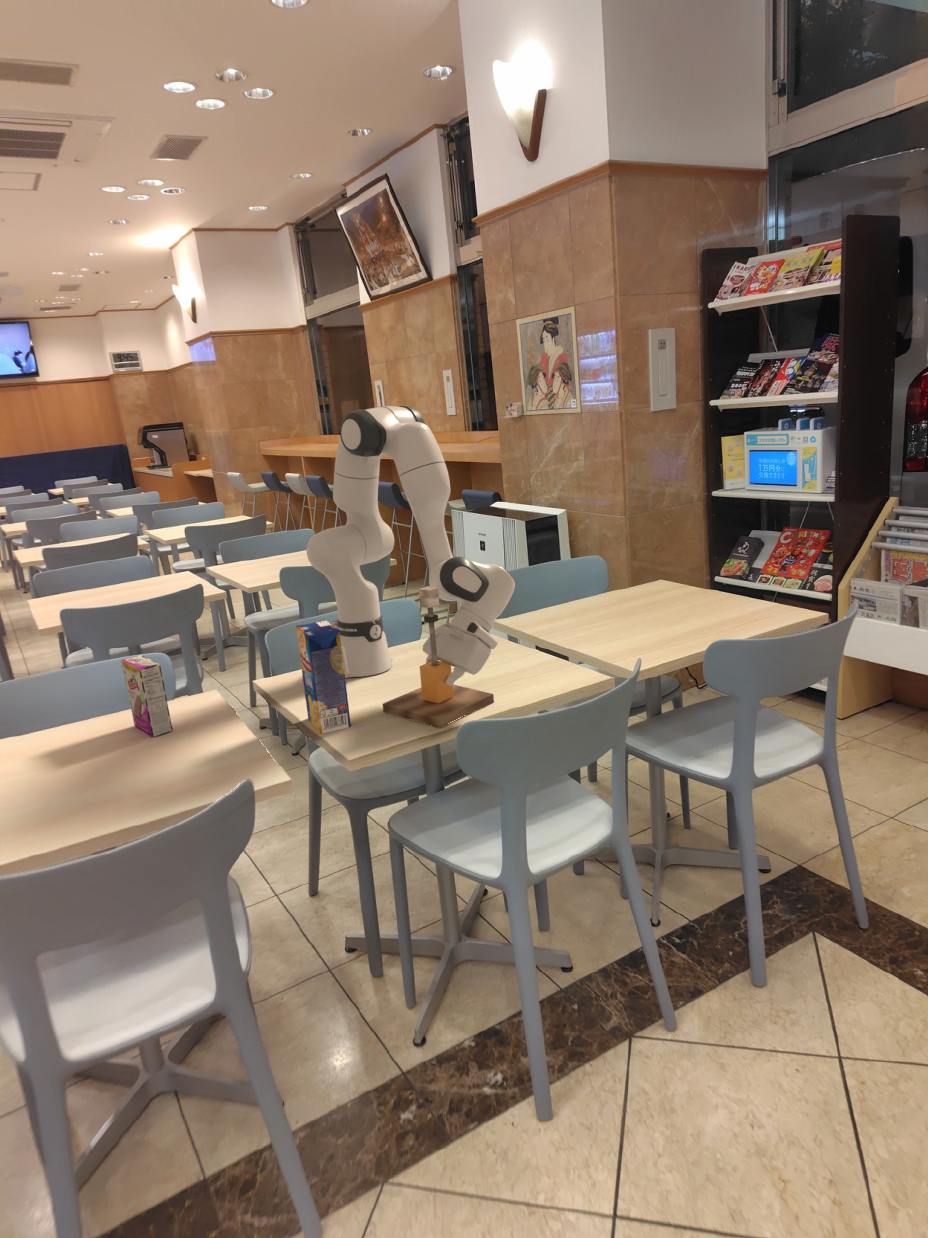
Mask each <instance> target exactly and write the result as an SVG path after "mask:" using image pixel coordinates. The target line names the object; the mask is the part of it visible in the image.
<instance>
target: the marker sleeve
mask: <svg viewBox="0 0 928 1238" xmlns="http://www.w3.org/2000/svg"><path fill="white" fill-rule="evenodd" d="M437 662H438V666H436V667H435V666H433V665H432V661H431V662H429V663H426V662H425V663H424V664H422V665H419V675H420V685H421V687H422V698H423V700H427V701H431V702H434V703H441V702H443V701H445V700H447V699H449V698H452V697H453V686H448V685H446V684H445V683H444V682H443V680H444V679H445V677H446V676H447V675H448V676H449V675H450V674H451V673H452V666H451V663H446V662H442V661H439V660H438V661H437ZM421 687H420V688H421Z"/></svg>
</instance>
